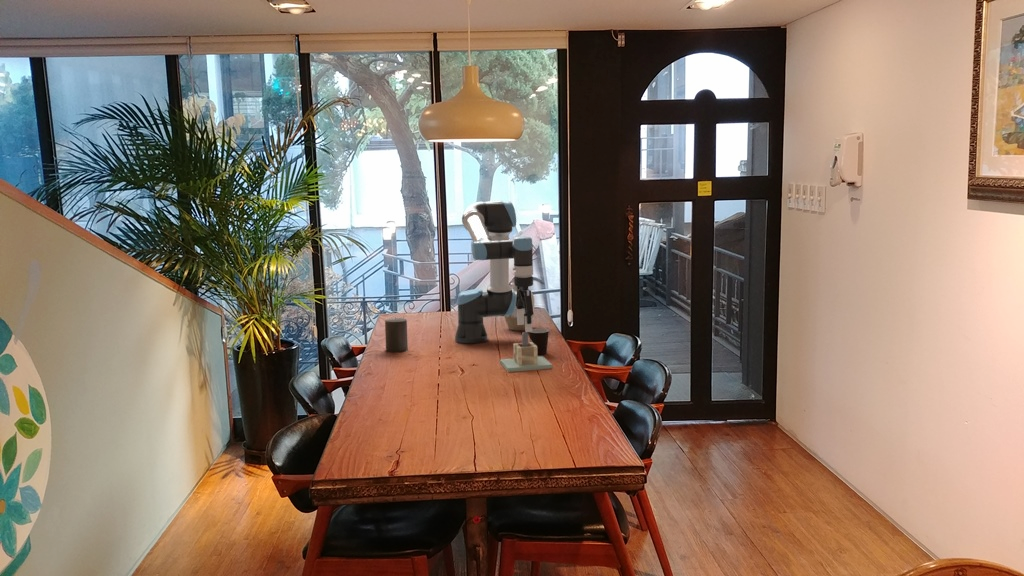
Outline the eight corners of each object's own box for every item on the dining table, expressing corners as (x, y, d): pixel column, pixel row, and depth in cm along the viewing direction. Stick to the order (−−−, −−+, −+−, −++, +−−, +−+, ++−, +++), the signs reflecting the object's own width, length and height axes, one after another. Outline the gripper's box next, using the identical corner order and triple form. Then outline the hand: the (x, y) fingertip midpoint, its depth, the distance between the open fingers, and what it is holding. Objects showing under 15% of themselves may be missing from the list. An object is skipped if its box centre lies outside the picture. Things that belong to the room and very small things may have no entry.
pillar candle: (393, 353, 352) (392, 319, 350) (381, 349, 359) (380, 316, 357) (412, 349, 358) (411, 316, 356) (400, 346, 366) (399, 314, 363)
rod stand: (500, 362, 331) (499, 330, 329) (542, 359, 334) (541, 327, 332) (507, 371, 316) (507, 338, 314) (552, 368, 320) (551, 335, 318)
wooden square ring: (513, 360, 328) (513, 343, 327) (532, 358, 330) (532, 342, 329) (518, 365, 320) (517, 348, 319) (537, 363, 322) (537, 346, 321)
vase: (515, 324, 408) (514, 279, 405) (541, 327, 399) (540, 281, 395) (496, 329, 396) (495, 284, 392) (522, 333, 386) (521, 286, 383)
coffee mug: (547, 356, 340) (547, 333, 338) (527, 355, 342) (526, 332, 340) (551, 349, 351) (551, 327, 350) (532, 349, 353) (531, 327, 351)
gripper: (507, 272, 331) (508, 322, 334) (521, 281, 307) (522, 335, 310) (525, 271, 332) (526, 321, 336) (540, 280, 308) (541, 334, 312)
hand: (524, 328), depth 323 cm, fingers open, 13 cm apart
